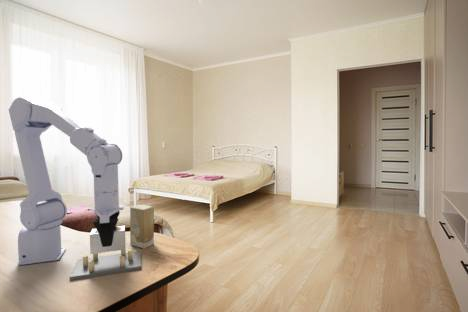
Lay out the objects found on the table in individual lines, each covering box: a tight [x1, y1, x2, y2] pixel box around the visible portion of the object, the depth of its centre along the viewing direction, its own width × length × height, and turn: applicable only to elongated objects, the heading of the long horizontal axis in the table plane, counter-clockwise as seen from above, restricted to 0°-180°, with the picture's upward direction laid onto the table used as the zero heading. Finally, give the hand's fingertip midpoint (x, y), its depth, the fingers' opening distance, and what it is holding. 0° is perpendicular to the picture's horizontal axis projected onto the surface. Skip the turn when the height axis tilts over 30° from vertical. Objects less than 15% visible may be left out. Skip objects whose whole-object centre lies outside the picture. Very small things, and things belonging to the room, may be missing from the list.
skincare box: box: [129, 203, 155, 249], centre depth 85 cm, size 6×4×12 cm
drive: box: [89, 225, 126, 255], centre depth 71 cm, size 8×4×5 cm, turn 110°
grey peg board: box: [69, 245, 142, 281], centre depth 71 cm, size 16×10×3 cm, turn 110°
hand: (108, 242), depth 71 cm, fingers closed on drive, 4 cm apart
